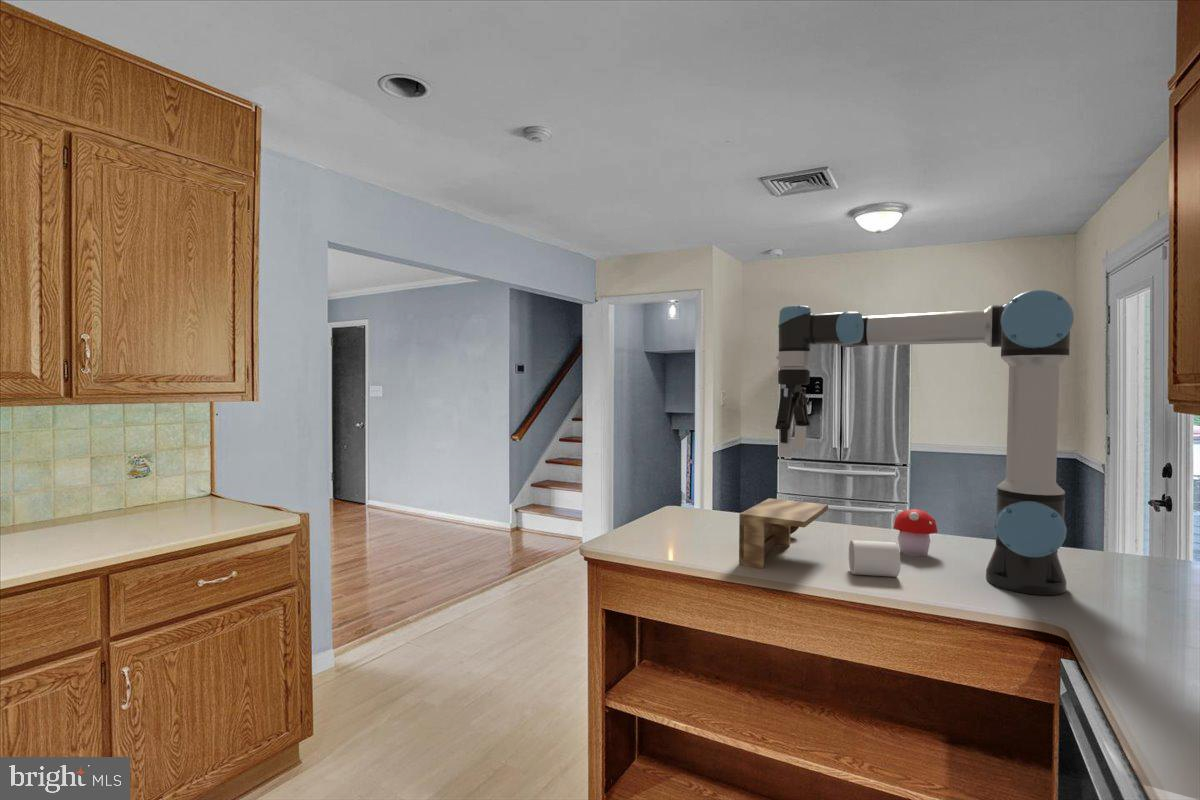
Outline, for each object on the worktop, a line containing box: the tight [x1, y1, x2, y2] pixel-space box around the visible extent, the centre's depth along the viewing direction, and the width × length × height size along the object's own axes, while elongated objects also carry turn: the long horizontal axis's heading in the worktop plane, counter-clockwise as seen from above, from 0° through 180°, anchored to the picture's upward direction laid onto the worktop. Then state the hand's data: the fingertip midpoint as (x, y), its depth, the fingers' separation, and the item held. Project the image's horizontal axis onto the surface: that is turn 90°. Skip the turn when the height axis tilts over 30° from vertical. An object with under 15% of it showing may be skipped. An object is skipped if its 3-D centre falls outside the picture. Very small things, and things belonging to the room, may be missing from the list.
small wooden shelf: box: [738, 498, 829, 569], centre depth 162 cm, size 16×24×13 cm, turn 147°
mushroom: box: [893, 508, 938, 557], centre depth 167 cm, size 11×11×12 cm
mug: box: [848, 539, 901, 578], centre depth 151 cm, size 12×10×8 cm
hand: (792, 453), depth 156 cm, fingers open, 13 cm apart
